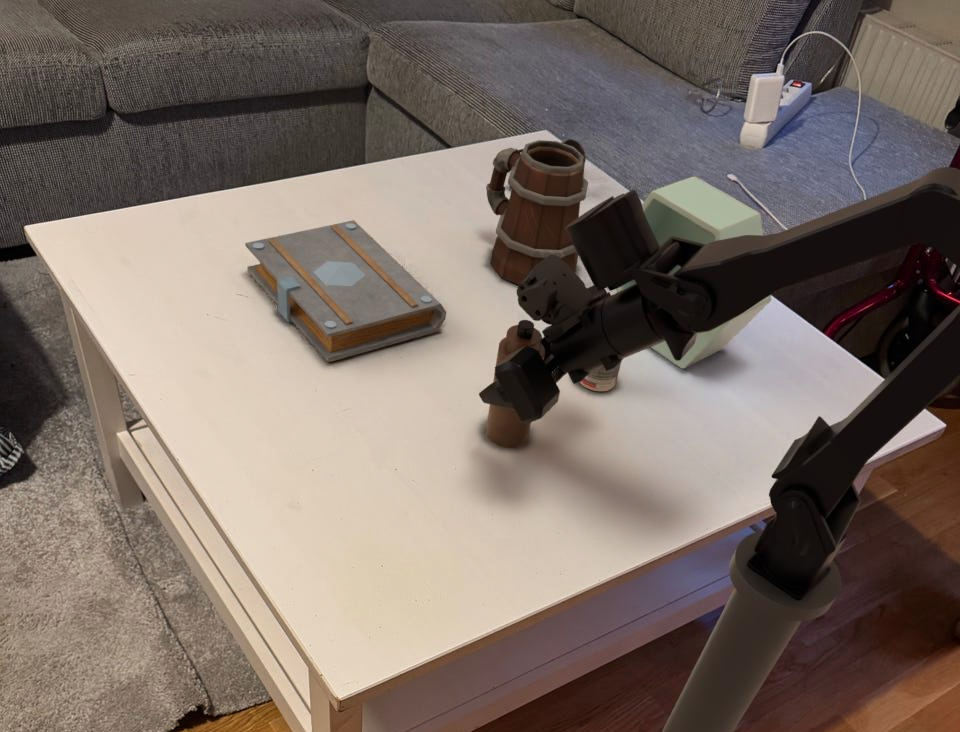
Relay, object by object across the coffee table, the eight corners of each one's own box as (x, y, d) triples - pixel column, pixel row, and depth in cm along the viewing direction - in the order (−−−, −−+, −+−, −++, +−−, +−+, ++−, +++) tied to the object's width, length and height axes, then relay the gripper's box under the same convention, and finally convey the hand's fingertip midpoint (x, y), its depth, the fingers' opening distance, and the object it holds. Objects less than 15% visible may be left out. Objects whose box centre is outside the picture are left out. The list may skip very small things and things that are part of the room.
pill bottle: (622, 388, 110) (640, 327, 103) (589, 395, 108) (605, 333, 102) (602, 365, 112) (618, 304, 106) (569, 372, 111) (583, 310, 104)
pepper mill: (535, 442, 102) (558, 333, 91) (497, 451, 100) (516, 341, 89) (516, 416, 104) (535, 307, 93) (478, 424, 102) (494, 314, 92)
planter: (632, 371, 120) (598, 204, 111) (670, 352, 124) (640, 189, 115) (739, 366, 107) (711, 176, 98) (778, 345, 111) (754, 160, 102)
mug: (592, 273, 126) (618, 161, 114) (533, 300, 120) (553, 185, 108) (512, 223, 132) (528, 112, 120) (451, 246, 126) (462, 132, 114)
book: (444, 332, 113) (447, 295, 109) (325, 366, 106) (324, 328, 102) (359, 249, 122) (359, 212, 118) (244, 274, 115) (241, 237, 111)
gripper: (624, 209, 88) (510, 272, 99) (529, 287, 77) (413, 348, 89) (674, 314, 92) (559, 363, 104) (590, 401, 82) (472, 446, 93)
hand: (504, 377), depth 97 cm, fingers open, 9 cm apart
